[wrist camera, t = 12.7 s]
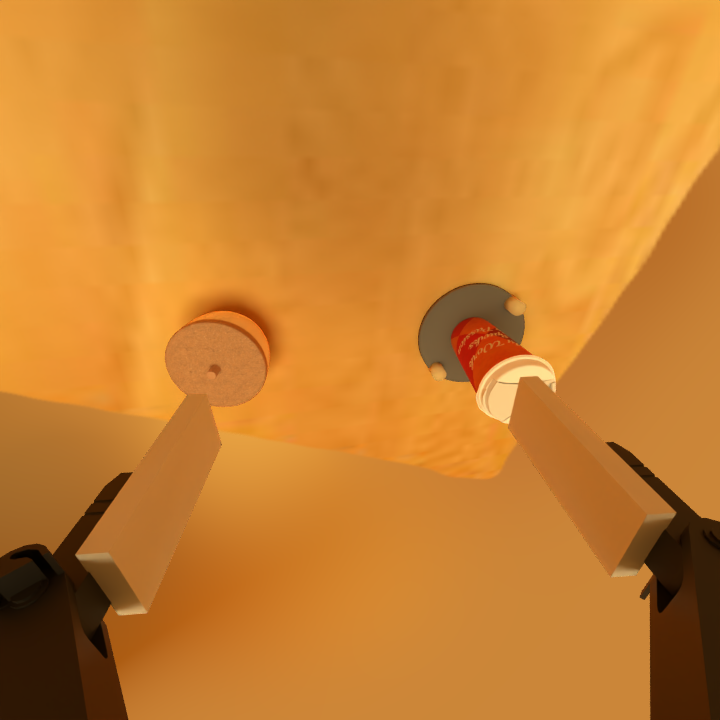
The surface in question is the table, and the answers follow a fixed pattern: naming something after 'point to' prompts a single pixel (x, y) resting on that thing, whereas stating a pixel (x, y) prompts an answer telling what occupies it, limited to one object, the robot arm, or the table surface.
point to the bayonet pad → (459, 307)
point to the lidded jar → (219, 358)
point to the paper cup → (496, 365)
